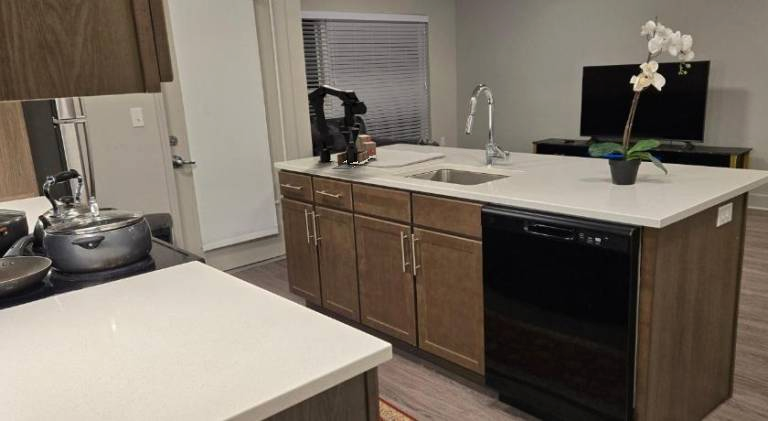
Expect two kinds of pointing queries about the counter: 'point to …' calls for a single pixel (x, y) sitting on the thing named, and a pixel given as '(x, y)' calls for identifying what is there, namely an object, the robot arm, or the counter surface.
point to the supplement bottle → (351, 153)
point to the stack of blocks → (366, 144)
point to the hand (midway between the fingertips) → (351, 143)
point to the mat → (343, 167)
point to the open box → (360, 157)
